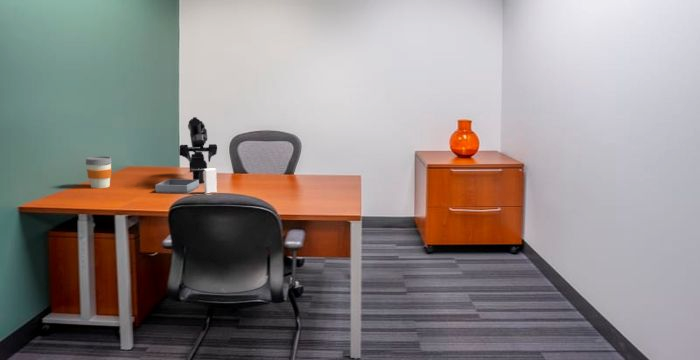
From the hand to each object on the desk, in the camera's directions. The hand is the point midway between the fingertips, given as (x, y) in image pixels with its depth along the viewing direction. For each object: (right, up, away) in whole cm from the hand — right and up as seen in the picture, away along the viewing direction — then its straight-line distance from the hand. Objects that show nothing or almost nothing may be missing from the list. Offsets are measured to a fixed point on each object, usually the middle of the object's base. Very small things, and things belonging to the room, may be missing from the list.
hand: (200, 161), depth 311 cm
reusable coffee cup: (-54, -13, +8) cm, 56 cm away
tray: (-11, -14, 0) cm, 18 cm away
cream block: (+7, -16, -7) cm, 19 cm away
